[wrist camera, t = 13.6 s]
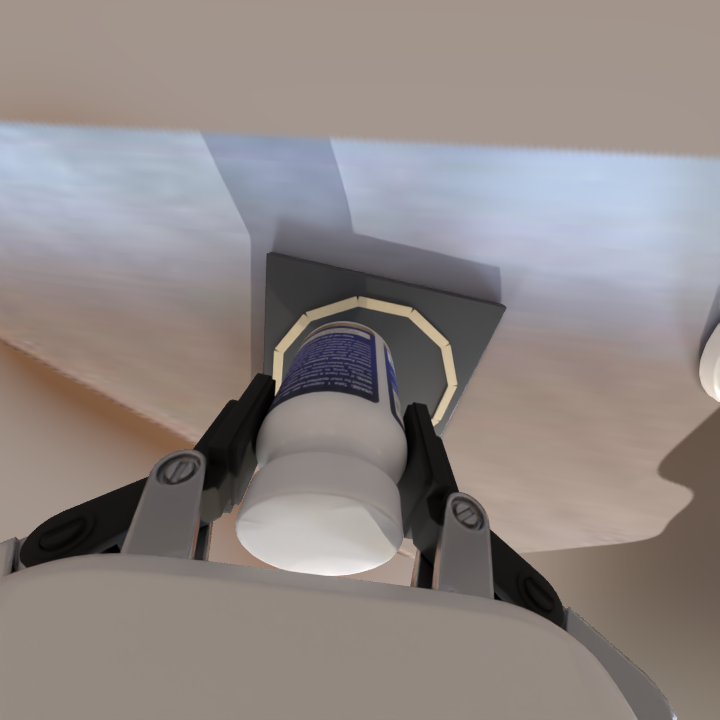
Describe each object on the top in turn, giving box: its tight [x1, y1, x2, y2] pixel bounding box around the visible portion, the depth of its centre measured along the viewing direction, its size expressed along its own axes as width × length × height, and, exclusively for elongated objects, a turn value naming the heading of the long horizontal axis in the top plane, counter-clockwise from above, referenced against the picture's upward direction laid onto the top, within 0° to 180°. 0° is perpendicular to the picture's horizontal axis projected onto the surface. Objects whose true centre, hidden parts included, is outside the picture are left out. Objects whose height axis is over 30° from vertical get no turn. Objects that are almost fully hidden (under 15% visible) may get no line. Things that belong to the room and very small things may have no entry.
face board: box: [263, 252, 506, 437], centre depth 18 cm, size 14×15×1 cm
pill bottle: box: [235, 321, 408, 576], centre depth 11 cm, size 6×6×10 cm
